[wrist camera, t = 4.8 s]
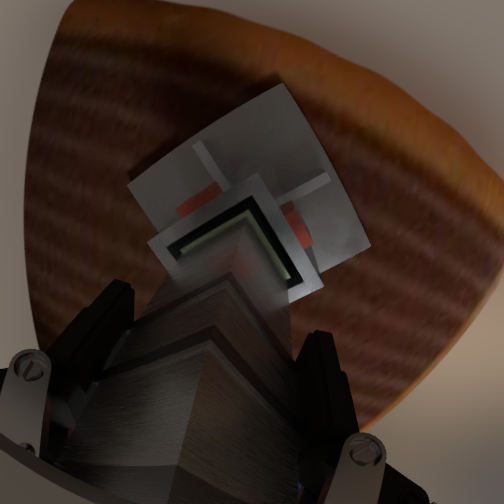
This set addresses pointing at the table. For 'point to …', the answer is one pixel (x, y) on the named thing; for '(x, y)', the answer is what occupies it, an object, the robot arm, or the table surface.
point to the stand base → (255, 188)
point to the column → (201, 380)
